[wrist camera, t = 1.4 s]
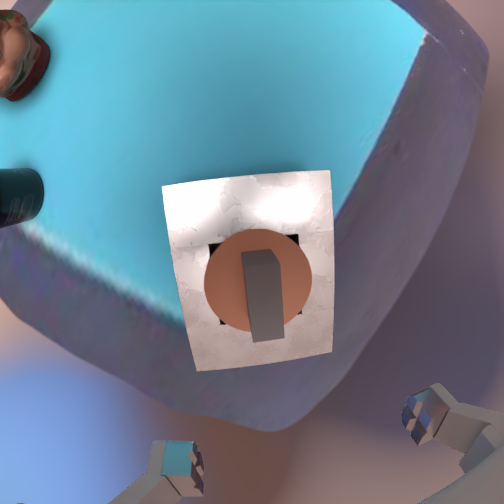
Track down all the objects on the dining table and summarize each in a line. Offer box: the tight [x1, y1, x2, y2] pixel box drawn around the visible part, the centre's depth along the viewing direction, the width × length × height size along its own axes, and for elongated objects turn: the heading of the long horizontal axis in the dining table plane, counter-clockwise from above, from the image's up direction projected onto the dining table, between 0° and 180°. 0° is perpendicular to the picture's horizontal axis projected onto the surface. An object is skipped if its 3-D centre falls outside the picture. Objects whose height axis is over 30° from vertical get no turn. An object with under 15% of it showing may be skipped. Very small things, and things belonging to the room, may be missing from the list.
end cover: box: [204, 229, 312, 343], centre depth 24 cm, size 9×9×10 cm
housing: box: [162, 170, 334, 371], centre depth 27 cm, size 18×14×7 cm
